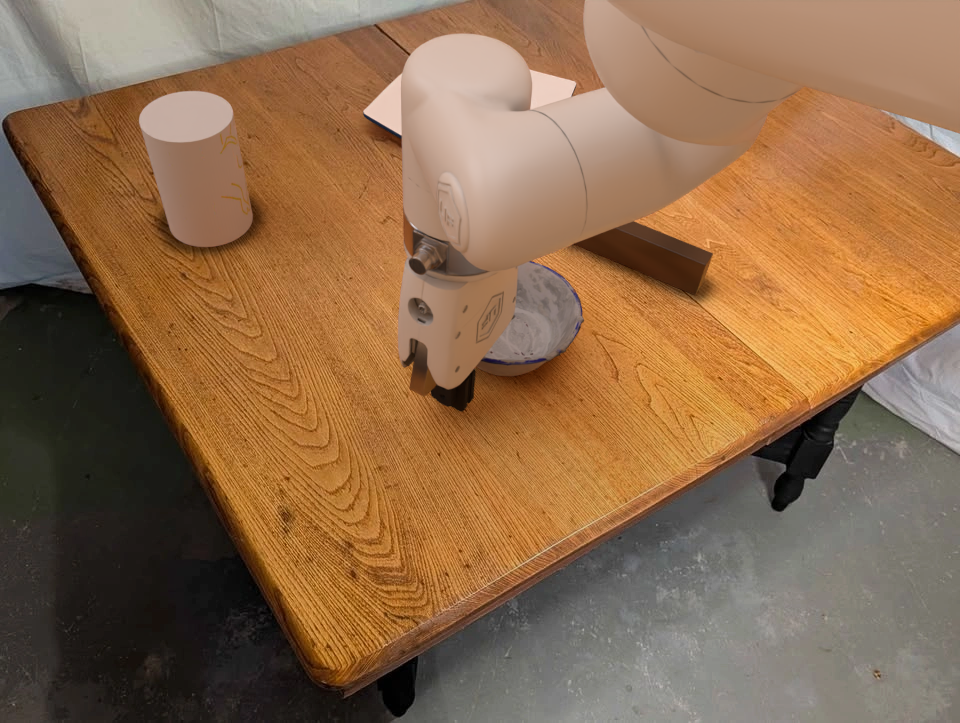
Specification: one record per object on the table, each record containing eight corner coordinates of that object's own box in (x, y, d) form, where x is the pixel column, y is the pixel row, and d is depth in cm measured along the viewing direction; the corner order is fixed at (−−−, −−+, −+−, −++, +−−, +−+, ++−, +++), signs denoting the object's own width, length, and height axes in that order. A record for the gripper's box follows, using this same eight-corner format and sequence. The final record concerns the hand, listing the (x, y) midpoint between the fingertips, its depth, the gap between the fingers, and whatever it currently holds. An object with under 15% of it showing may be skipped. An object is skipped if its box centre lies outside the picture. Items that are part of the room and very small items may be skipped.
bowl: (561, 288, 81) (567, 250, 78) (589, 393, 73) (598, 356, 70) (426, 296, 80) (426, 257, 76) (440, 403, 72) (441, 366, 68)
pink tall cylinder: (256, 240, 84) (236, 136, 75) (170, 252, 82) (139, 147, 73) (248, 190, 89) (229, 87, 80) (167, 199, 87) (138, 95, 78)
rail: (702, 283, 83) (713, 253, 80) (695, 295, 82) (705, 265, 79) (491, 195, 90) (494, 164, 87) (482, 205, 89) (484, 173, 86)
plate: (584, 100, 103) (587, 80, 101) (514, 191, 91) (517, 170, 89) (436, 55, 108) (436, 35, 106) (351, 135, 96) (349, 114, 94)
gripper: (448, 318, 51) (442, 484, 65) (561, 189, 60) (534, 360, 73) (346, 270, 53) (361, 440, 67) (469, 152, 62) (460, 325, 76)
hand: (451, 398), depth 70 cm, fingers closed
